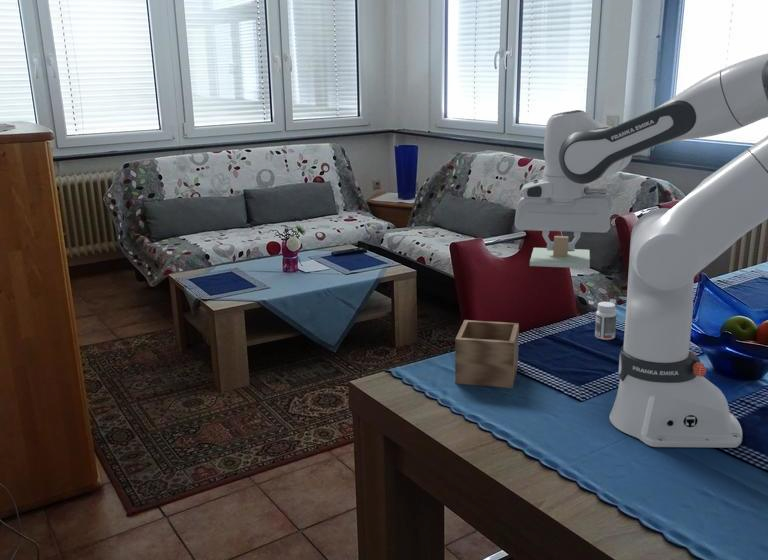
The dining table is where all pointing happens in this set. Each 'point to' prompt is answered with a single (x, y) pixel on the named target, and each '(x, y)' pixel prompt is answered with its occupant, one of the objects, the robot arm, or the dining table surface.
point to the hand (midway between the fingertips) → (560, 250)
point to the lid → (560, 255)
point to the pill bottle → (605, 321)
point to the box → (486, 353)
